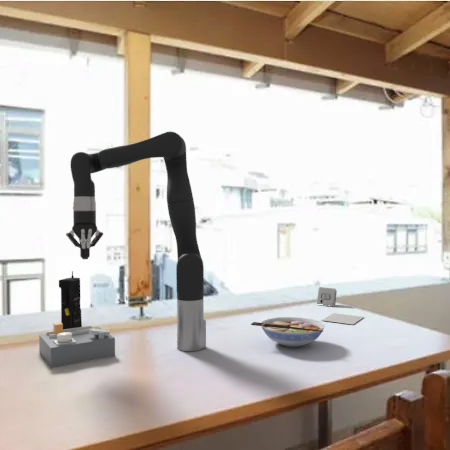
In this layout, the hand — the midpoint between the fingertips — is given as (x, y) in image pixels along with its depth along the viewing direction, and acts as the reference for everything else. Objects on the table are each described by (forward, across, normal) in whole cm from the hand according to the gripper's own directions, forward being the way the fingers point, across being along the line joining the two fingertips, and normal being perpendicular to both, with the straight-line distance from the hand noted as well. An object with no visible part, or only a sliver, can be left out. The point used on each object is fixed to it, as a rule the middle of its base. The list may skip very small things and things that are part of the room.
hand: (85, 259), depth 153 cm
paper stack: (+32, +105, -29) cm, 113 cm away
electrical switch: (+31, +124, +3) cm, 128 cm away
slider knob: (+25, -10, -2) cm, 27 cm away
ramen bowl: (+31, +62, -39) cm, 80 cm away
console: (+31, -5, -7) cm, 32 cm away
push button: (+24, -10, -12) cm, 29 cm away
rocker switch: (+23, +1, -12) cm, 26 cm away
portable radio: (+31, -2, +13) cm, 34 cm away
